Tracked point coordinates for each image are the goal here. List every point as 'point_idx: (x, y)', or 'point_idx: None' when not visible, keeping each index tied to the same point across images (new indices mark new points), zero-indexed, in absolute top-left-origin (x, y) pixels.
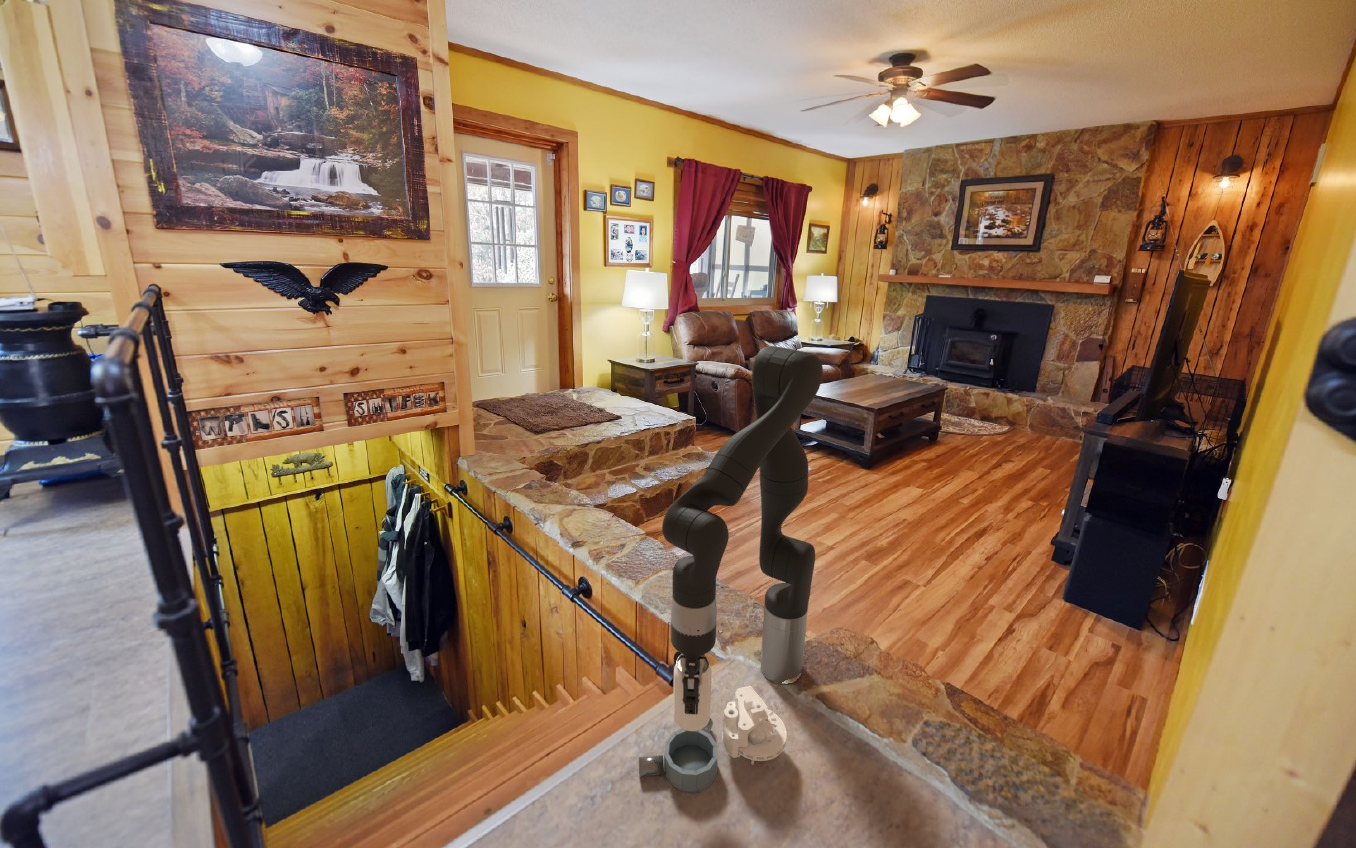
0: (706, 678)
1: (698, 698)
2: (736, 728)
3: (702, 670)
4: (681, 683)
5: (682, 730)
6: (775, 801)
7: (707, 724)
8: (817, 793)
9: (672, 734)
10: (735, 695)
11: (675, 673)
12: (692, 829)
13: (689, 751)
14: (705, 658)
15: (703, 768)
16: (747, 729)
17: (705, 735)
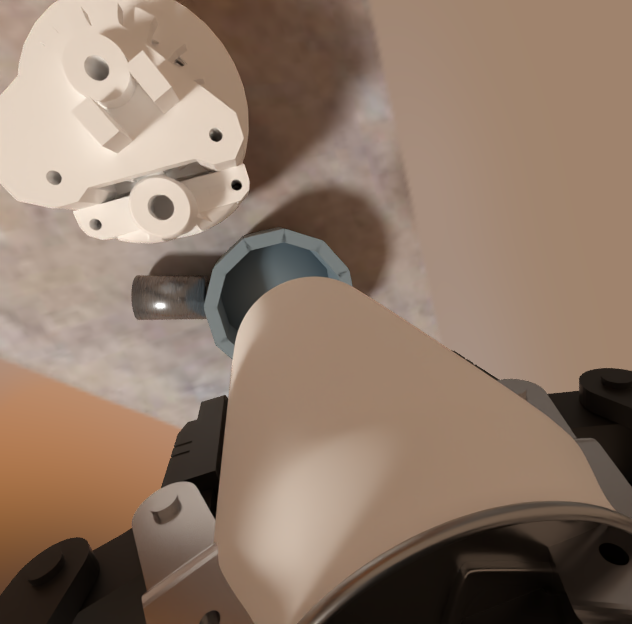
0: (543, 425)
1: (533, 383)
2: (200, 179)
3: (570, 548)
4: None
5: (229, 349)
6: (294, 58)
7: (159, 289)
8: None
9: None
10: (66, 205)
11: None
12: (407, 247)
13: (245, 309)
14: (311, 609)
15: (326, 258)
16: (234, 116)
17: (222, 282)
